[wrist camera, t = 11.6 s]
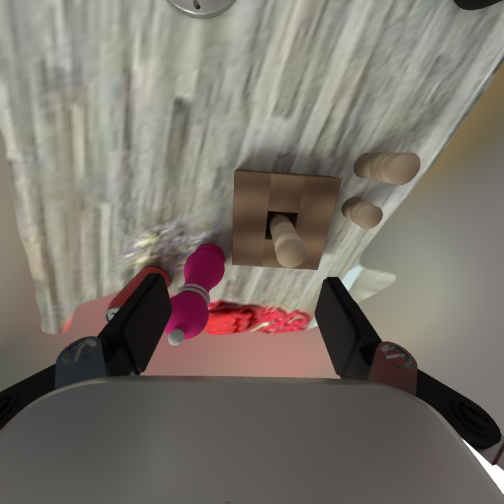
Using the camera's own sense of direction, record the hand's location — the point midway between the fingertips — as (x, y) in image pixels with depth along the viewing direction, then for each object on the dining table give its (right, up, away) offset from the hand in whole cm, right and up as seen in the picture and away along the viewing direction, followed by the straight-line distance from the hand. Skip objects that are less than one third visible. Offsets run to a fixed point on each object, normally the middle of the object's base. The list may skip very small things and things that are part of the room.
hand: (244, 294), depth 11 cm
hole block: (+5, +9, +24) cm, 26 cm away
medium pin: (+19, +17, +20) cm, 32 cm away
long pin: (+5, +9, +24) cm, 26 cm away
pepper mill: (-8, +1, +28) cm, 29 cm away
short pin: (+19, +10, +23) cm, 31 cm away
